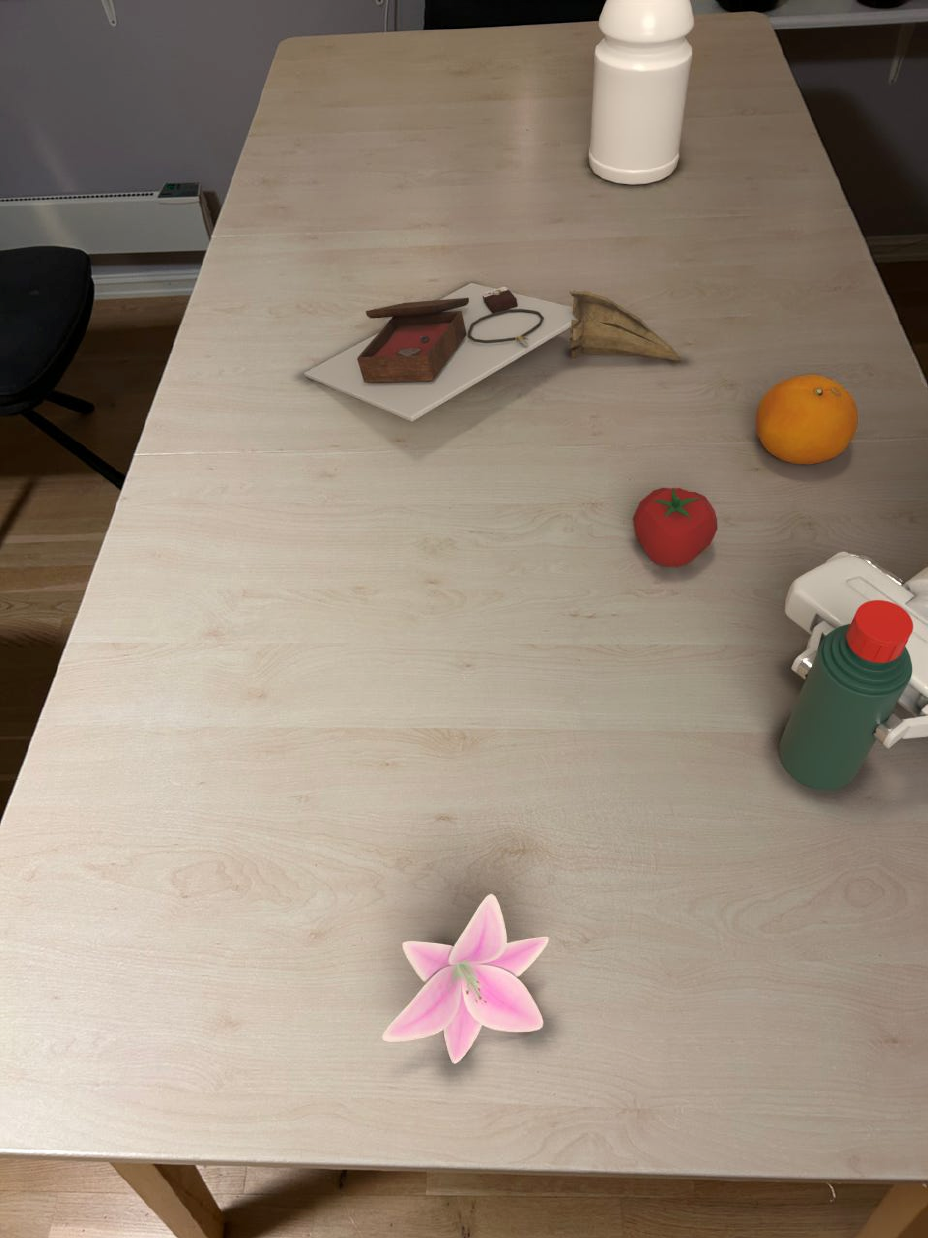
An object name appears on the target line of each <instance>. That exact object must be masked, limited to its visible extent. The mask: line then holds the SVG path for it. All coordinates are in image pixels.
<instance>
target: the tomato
mask: <svg viewBox="0 0 928 1238" xmlns="http://www.w3.org/2000/svg"><path fill="white" fill-rule="evenodd" d="M632 524H633V529H634V536H635V537H636V539H637V541H638V542H639V544H640V546H641V547H642V548H643V550H644V552H645V553H646V554H647V556H648V557H649V559H650V561H652V562H653V563H655V564H657V565H659V566H661V567H663V566H664V567H670V568H679V567H682V566H686V565H688V564H689V563H691V562H692V561H694V560H695V559H697V557H698V556H699V555H700V554H701V553H703V552H704V551H705V550H707V548H708V547H710V545H711V543H712V542H713V540H714V538H715V535H716V533H717V531H718V518H717V513H716V510H715V508H714V506H713V505H712V503H711V502H710V501H709V499H708V498H707V497H706V496H705V495H704V494H701V493H699V492H698V491H689V490H686V489H684V488H681V487H662V488H661V487H660V488H658V489H654V490H652V491H651V492H650V493H648V494H647V495H646V496H645V497H644V498H643V499H642V500H641V501H639V503H638V506H637V508H636V509H635V512H634V514H633V517H632Z"/></svg>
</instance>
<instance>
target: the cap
mask: <svg viewBox="0 0 928 1238" xmlns="http://www.w3.org/2000/svg"><path fill="white" fill-rule="evenodd" d="M912 631H913V622H912V619H911V617H910V615H909V614H908V613H907V612H906V611H905V610H904V609H903V608H901V607H900V606H898V605H896V604H894V603H892V602H889V601H884V600H872V601H868V602H866V603H864V604H862V605H861V606H860V607H859V608H858V609H857V611H856V613H855V616H854V618H853V620H852V622H851V624H850V627H849V629H848V631H847V633H846V635H847V642H848V644H849V646H850V648H851V649H852V650H853V652H854V653H856V654H857V655H858V656H860V657H861V658H863V659H865V660H868V661H871V662H876V663H885V662H890V661H892V660H894V659H896V658H897V657H898V656H900V655H901V653H902V651H903V649H904V648H905V646H906V644H907V642H908V639H909V637H910V635H911V633H912Z"/></svg>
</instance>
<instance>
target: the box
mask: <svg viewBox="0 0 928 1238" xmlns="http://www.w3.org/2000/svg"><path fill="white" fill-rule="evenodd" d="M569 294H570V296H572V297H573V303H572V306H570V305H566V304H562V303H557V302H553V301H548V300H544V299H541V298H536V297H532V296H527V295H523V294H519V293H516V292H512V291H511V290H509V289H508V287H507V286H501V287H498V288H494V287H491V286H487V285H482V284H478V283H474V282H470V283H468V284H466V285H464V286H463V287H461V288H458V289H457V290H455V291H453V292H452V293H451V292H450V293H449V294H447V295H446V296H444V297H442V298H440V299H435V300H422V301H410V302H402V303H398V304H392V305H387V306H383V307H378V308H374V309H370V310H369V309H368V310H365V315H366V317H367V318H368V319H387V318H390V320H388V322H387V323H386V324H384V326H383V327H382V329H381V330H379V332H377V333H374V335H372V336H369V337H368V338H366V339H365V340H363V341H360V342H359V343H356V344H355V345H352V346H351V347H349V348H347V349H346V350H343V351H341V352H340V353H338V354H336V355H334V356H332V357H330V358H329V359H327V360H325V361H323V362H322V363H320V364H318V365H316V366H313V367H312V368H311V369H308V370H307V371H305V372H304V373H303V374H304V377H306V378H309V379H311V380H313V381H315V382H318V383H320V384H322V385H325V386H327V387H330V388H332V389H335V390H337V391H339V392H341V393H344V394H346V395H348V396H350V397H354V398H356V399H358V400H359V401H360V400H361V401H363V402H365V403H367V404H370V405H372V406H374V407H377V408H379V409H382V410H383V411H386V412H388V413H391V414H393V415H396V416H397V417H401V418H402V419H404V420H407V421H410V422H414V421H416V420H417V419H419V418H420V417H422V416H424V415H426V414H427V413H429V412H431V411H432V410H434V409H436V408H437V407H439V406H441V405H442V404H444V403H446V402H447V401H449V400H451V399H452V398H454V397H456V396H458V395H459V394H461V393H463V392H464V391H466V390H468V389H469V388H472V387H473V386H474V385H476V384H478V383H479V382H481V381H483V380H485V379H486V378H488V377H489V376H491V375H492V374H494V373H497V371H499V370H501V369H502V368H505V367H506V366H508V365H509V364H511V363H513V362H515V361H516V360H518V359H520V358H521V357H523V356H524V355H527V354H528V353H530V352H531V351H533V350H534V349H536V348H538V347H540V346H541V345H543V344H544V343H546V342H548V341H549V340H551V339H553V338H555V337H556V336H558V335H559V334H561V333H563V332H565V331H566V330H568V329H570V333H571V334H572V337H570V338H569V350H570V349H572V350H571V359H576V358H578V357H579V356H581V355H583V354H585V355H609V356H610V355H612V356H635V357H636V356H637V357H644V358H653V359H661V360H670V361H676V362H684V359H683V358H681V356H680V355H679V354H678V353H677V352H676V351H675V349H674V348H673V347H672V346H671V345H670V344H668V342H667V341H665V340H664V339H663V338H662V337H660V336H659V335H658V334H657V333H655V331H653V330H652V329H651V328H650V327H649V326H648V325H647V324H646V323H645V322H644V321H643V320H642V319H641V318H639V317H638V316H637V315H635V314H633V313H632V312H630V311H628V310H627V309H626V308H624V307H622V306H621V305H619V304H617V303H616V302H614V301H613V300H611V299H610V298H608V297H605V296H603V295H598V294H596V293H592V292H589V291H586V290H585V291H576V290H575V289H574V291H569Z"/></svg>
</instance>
